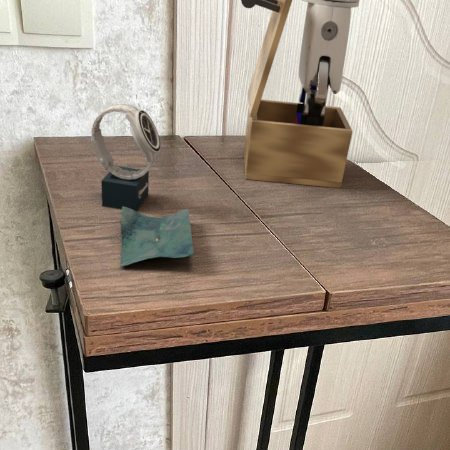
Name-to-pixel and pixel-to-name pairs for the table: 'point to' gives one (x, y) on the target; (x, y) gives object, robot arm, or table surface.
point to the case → (296, 146)
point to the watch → (122, 176)
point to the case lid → (266, 48)
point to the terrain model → (154, 236)
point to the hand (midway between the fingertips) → (306, 137)
